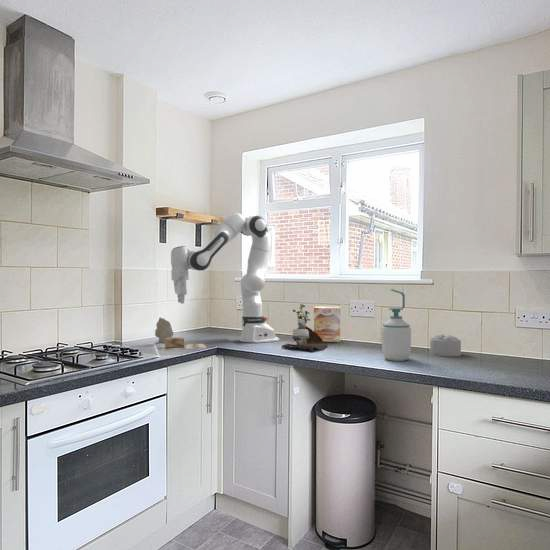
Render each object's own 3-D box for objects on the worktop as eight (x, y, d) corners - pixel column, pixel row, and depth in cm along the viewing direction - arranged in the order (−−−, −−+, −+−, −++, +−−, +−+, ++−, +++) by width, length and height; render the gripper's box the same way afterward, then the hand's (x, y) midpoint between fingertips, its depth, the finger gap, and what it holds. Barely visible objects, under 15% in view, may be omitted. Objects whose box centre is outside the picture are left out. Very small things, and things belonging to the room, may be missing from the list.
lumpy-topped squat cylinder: (463, 356, 194) (463, 337, 194) (435, 356, 194) (434, 337, 194) (453, 352, 205) (453, 334, 205) (426, 352, 204) (426, 334, 204)
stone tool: (175, 344, 235) (174, 317, 235) (172, 345, 231) (171, 317, 231) (156, 343, 237) (156, 316, 237) (153, 344, 234) (153, 317, 234)
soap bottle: (383, 355, 196) (383, 288, 196) (411, 357, 192) (411, 288, 192) (380, 360, 185) (379, 289, 185) (410, 362, 180) (409, 289, 180)
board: (202, 345, 228) (202, 343, 228) (206, 349, 216) (206, 347, 216) (160, 348, 221) (160, 345, 221) (162, 352, 209) (162, 350, 209)
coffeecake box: (313, 341, 240) (313, 307, 240) (314, 339, 247) (314, 306, 247) (340, 342, 238) (340, 307, 238) (340, 340, 245) (340, 306, 245)
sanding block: (183, 345, 221) (183, 337, 221) (184, 347, 216) (184, 338, 216) (165, 346, 218) (165, 338, 218) (166, 348, 213) (166, 339, 213)
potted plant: (280, 354, 216) (280, 306, 224) (300, 357, 230) (299, 312, 238) (313, 351, 205) (312, 300, 212) (332, 355, 219) (330, 308, 227)
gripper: (189, 276, 215) (190, 303, 215) (183, 276, 235) (184, 301, 235) (176, 277, 213) (177, 304, 213) (171, 277, 232) (173, 302, 233)
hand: (181, 302), depth 224 cm, fingers open, 8 cm apart
